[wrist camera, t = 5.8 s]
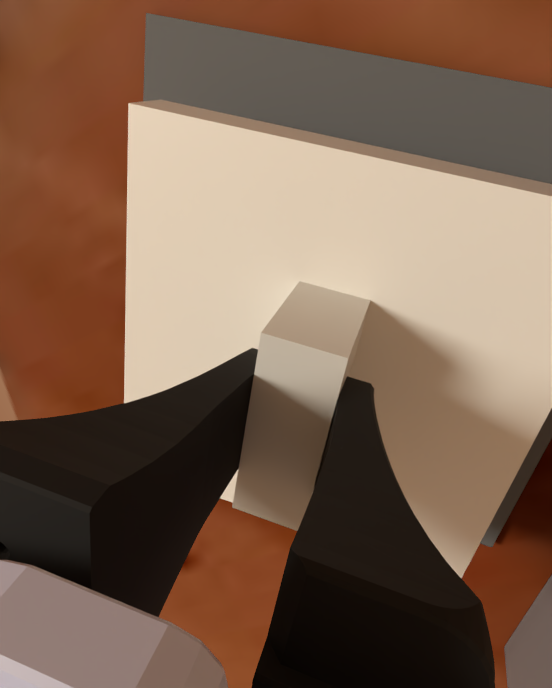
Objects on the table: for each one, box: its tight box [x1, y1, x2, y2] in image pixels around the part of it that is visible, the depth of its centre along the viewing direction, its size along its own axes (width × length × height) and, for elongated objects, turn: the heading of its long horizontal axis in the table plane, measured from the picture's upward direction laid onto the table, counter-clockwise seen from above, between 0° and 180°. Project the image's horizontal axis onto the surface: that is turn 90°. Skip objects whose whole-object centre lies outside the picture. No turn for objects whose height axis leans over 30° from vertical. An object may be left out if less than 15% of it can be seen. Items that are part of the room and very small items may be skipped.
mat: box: [143, 13, 552, 547], centre depth 17 cm, size 15×15×1 cm
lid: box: [124, 100, 552, 578], centre depth 13 cm, size 11×11×5 cm
